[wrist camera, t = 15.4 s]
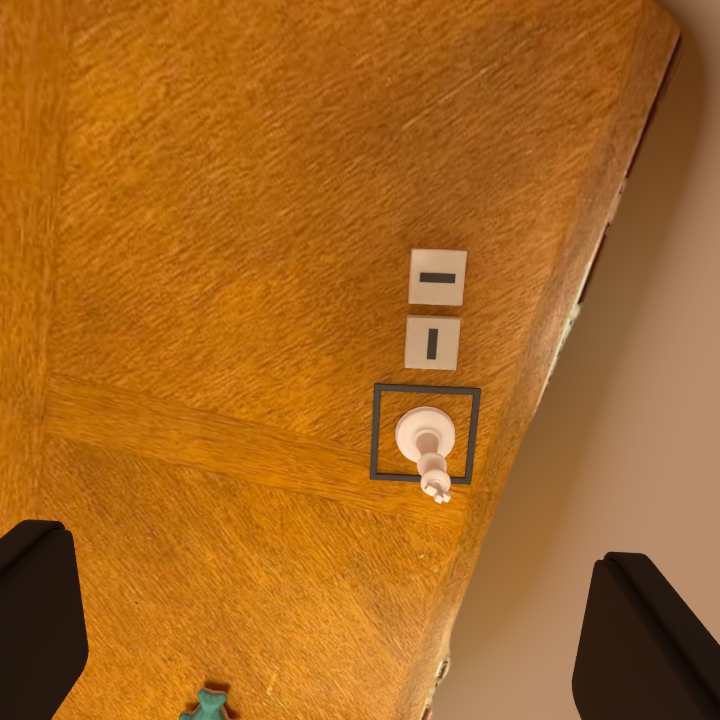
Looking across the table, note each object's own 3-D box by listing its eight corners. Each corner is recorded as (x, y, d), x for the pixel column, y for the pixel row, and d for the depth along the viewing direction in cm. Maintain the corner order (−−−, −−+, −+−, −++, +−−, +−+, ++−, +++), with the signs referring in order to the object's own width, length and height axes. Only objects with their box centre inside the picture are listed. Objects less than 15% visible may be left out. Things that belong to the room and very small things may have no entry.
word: (380, 247, 37) (380, 247, 35) (495, 251, 36) (499, 252, 35) (370, 477, 42) (369, 485, 40) (470, 482, 41) (472, 490, 40)
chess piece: (433, 471, 41) (450, 545, 32) (384, 442, 41) (385, 510, 31) (466, 424, 40) (494, 488, 30) (416, 395, 40) (427, 450, 30)
